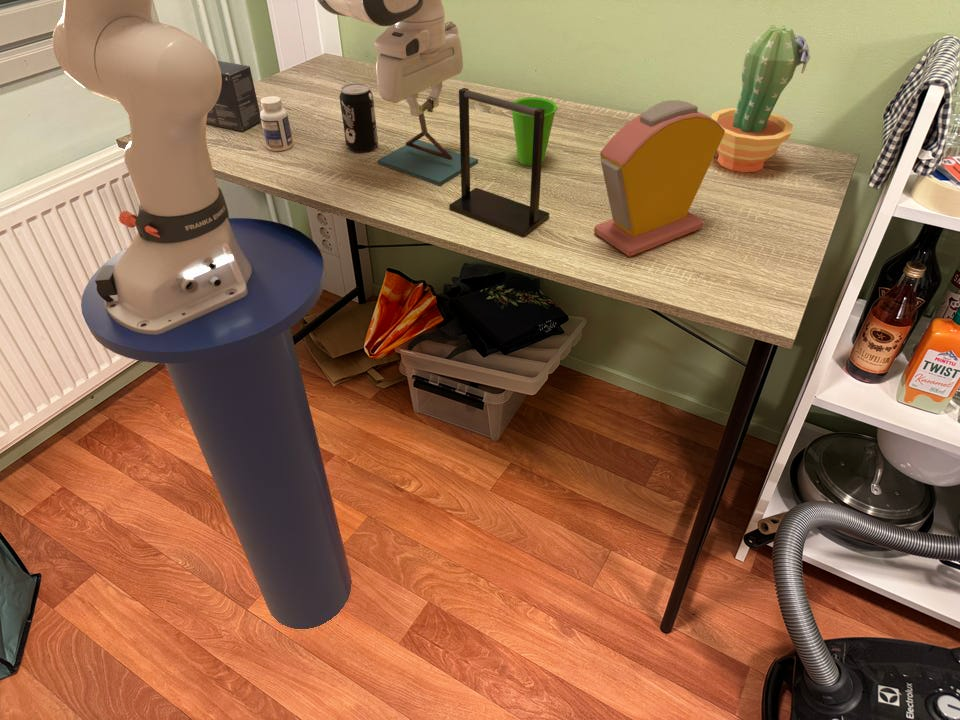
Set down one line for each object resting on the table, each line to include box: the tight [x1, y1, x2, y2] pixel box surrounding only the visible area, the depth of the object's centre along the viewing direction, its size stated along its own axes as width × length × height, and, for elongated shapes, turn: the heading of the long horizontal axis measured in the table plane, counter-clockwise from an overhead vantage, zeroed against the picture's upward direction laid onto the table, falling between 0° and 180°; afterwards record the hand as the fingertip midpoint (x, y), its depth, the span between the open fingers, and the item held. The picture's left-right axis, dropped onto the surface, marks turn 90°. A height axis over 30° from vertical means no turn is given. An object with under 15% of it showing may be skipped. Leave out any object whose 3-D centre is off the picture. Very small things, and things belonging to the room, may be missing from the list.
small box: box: [206, 60, 261, 132], centre depth 147 cm, size 13×7×12 cm, turn 65°
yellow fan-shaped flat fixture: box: [593, 99, 725, 258], centre depth 108 cm, size 22×9×22 cm, turn 123°
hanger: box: [404, 99, 452, 160], centre depth 131 cm, size 3×12×10 cm, turn 53°
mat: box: [377, 139, 479, 187], centre depth 135 cm, size 12×16×1 cm
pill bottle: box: [260, 95, 294, 152], centre depth 138 cm, size 5×5×10 cm
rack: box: [448, 87, 550, 238], centre depth 113 cm, size 8×16×20 cm, turn 53°
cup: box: [511, 96, 558, 167], centre depth 132 cm, size 9×9×11 cm
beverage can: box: [339, 82, 379, 153], centre depth 137 cm, size 7×7×12 cm
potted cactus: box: [710, 24, 811, 173], centre depth 127 cm, size 15×15×25 cm
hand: (424, 111), depth 128 cm, fingers closed on hanger, 3 cm apart
